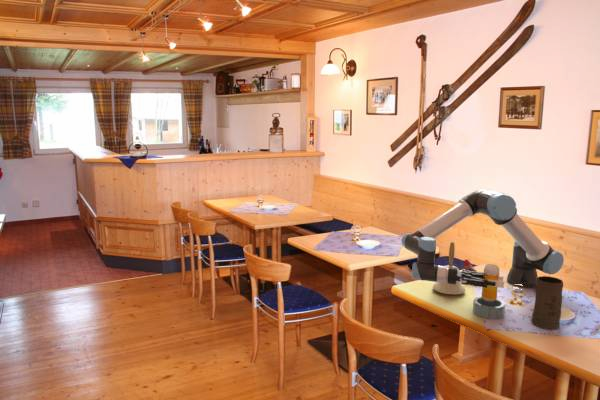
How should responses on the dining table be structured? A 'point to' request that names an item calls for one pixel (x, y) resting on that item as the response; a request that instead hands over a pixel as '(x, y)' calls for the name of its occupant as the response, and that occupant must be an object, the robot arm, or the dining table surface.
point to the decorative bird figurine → (468, 266)
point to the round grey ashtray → (488, 308)
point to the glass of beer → (492, 274)
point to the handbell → (446, 287)
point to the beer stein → (547, 302)
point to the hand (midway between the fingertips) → (503, 282)
